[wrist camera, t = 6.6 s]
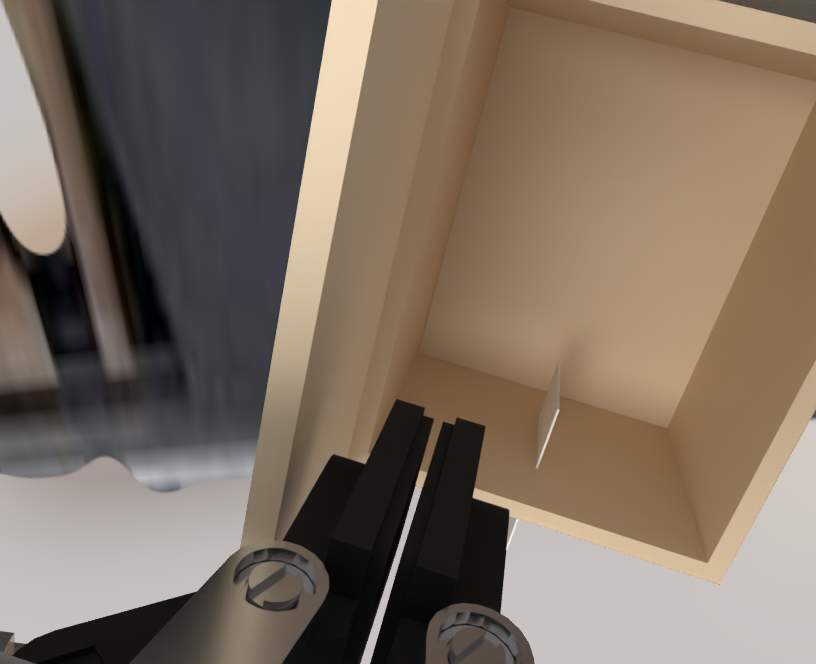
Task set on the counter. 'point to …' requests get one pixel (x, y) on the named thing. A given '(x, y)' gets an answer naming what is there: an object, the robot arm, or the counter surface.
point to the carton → (612, 268)
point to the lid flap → (343, 242)
